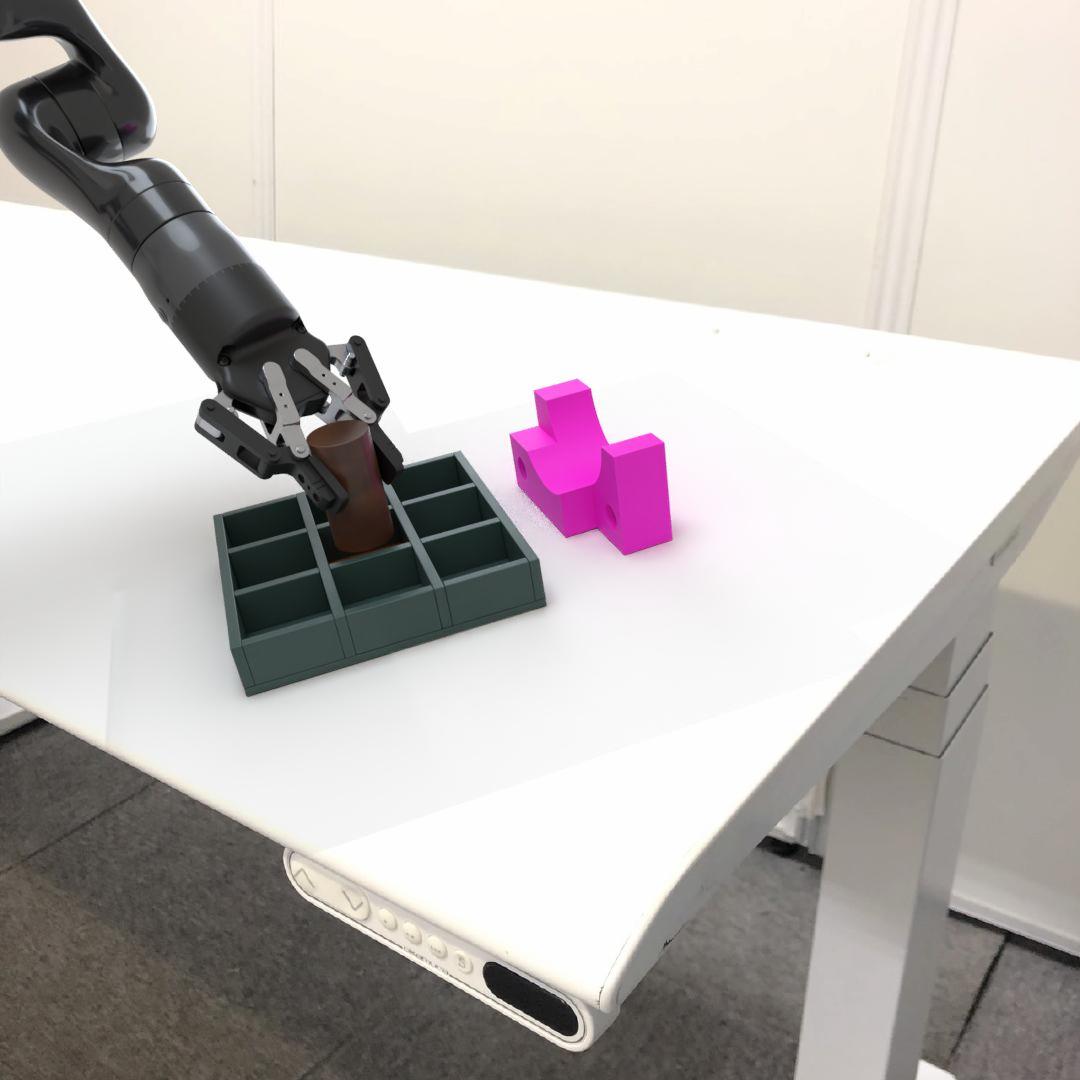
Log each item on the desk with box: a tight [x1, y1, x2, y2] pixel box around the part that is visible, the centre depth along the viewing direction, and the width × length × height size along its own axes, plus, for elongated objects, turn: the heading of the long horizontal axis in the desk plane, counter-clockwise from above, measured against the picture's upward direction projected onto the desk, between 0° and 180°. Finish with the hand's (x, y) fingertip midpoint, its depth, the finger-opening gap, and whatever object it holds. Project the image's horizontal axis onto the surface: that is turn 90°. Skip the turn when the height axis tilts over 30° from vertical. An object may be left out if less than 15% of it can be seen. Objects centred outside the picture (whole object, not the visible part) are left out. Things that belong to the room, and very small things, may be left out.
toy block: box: [509, 378, 674, 556], centre depth 76 cm, size 15×6×8 cm, turn 21°
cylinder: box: [305, 420, 394, 552], centre depth 70 cm, size 4×4×8 cm
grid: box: [212, 450, 547, 697], centre depth 73 cm, size 20×20×4 cm
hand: (369, 491), depth 69 cm, fingers closed on cylinder, 4 cm apart
